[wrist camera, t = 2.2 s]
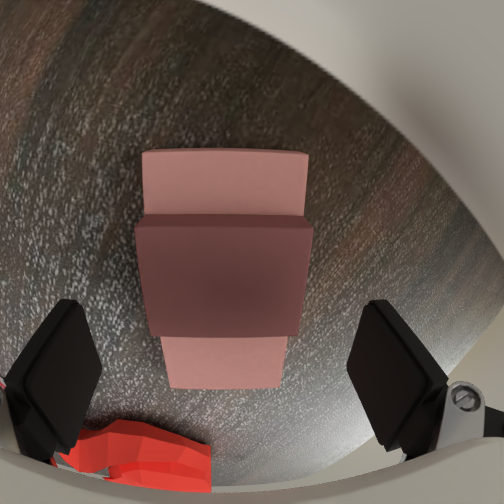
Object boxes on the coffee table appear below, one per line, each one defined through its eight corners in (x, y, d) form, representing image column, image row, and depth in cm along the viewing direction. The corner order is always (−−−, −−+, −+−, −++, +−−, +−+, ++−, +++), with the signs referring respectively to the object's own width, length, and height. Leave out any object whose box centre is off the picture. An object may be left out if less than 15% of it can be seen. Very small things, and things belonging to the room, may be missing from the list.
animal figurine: (38, 384, 17) (17, 429, 13) (211, 415, 19) (212, 472, 15) (77, 448, 22) (68, 483, 17) (209, 469, 24) (210, 510, 19)
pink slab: (151, 149, 12) (128, 156, 9) (299, 151, 12) (321, 159, 9) (173, 369, 17) (167, 409, 14) (275, 369, 18) (284, 408, 15)
